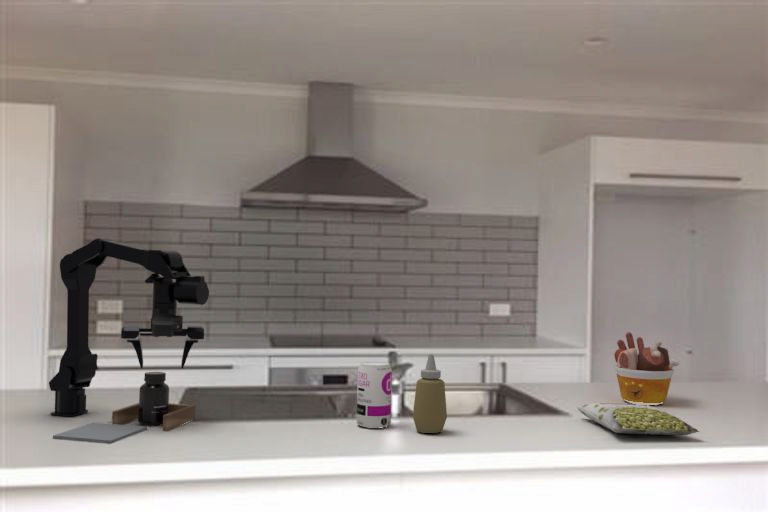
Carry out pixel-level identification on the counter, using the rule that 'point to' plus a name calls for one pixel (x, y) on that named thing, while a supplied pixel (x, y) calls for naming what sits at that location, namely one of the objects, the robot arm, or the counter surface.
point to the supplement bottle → (153, 399)
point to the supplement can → (374, 394)
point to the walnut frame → (170, 421)
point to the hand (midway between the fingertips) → (162, 368)
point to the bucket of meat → (643, 371)
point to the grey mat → (100, 432)
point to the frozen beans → (636, 419)
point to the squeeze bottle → (430, 400)
